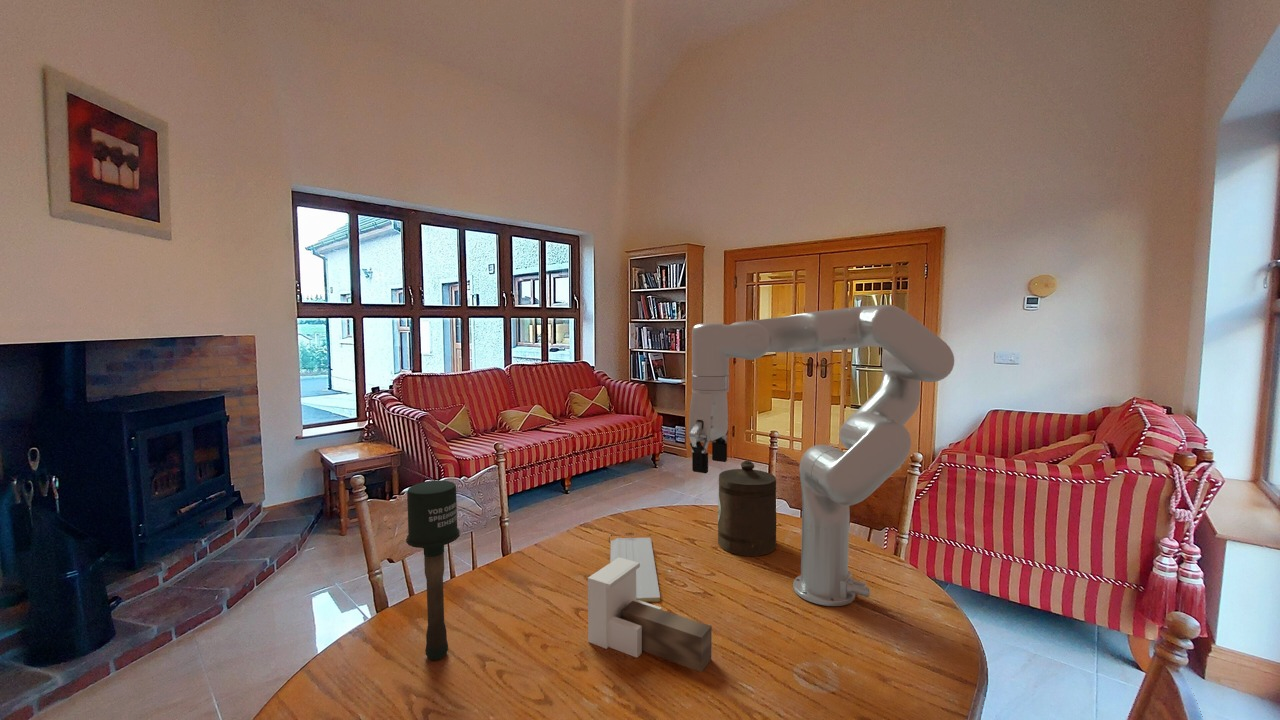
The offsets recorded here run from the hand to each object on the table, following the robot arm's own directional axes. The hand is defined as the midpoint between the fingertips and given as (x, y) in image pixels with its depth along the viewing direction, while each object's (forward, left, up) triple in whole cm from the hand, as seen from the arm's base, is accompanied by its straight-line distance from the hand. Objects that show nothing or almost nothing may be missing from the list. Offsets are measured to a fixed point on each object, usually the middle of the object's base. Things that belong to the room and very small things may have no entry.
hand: (710, 466), depth 111 cm
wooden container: (+3, -30, -28) cm, 42 cm away
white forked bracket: (+7, +21, -28) cm, 36 cm away
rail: (-1, +21, -28) cm, 35 cm away
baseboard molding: (+22, -3, -29) cm, 36 cm away
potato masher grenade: (+32, +43, -28) cm, 61 cm away
